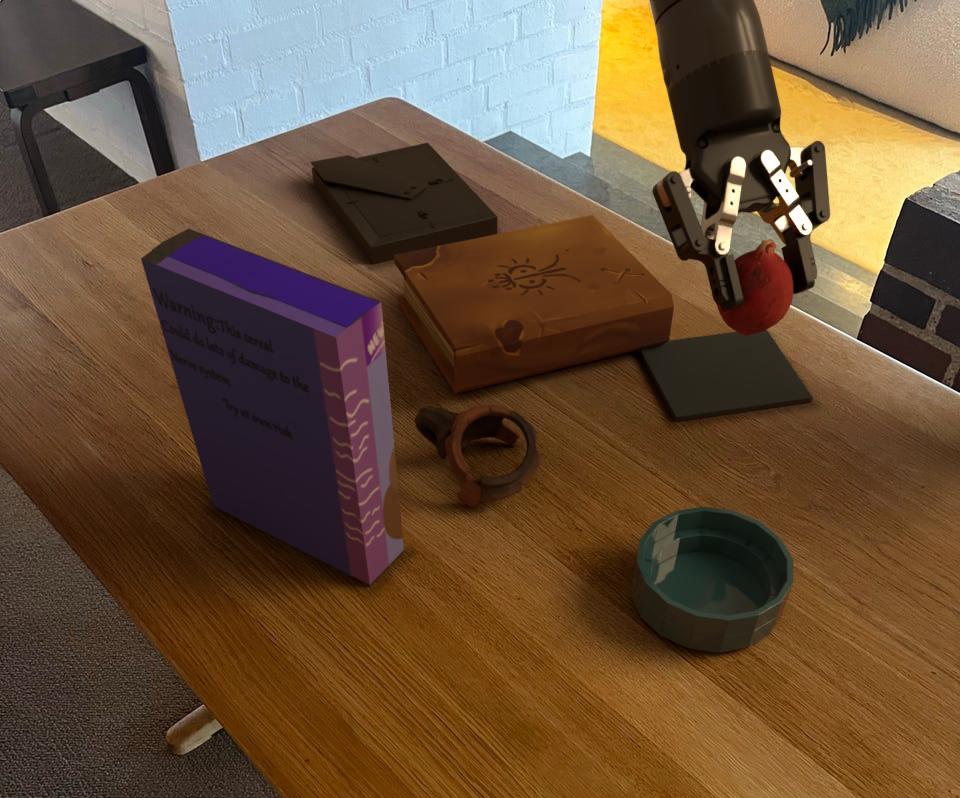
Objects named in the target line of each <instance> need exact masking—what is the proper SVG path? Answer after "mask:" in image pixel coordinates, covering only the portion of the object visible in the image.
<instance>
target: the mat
mask: <svg viewBox="0 0 960 798" xmlns="http://www.w3.org/2000/svg"><path fill="white" fill-rule="evenodd" d="M637 351H638V355H639V357H640V358H641V360H642V362H643V363H644V365H645V367H646V370H647V371H648V373H649V375H650V377H651V379H652V382H654V385H655V386H656V388H657V390H658V392H659V394H660V396H661V398H662V400H663V402H664V403H665V405H666V408H667V409H668V411H669V413H670V415H671V417H672V418H673V420H674V422H682V421H689V420H695V419H704V418H709V417H710V418H711V417H717V416H724V415H730V414H738V413H743V412H750V411H751V412H752V411H758V410H765V409H772V408H780V407H787V406H793V405H800V404H807V403H812V401H813V399H814V398H813V395H812V394H811V393H810V391H809V390H808V388H807V387H806V385H805V383H803V381H802V379H801V378H800V377H799V374H798V373H797V372H796V370H795V369H794V368H793V366H792V365H791V363H790V362H789V360H788V359H787V357H786V355H785V354H784V352H783V351H782V350H781V348H780V347H779V345H778V343H776V341H775V340H774V338H773V337H772V334H770V332H769V331H768V329H767V330H765V331H763V332H760V333H756V334H752V335H748V336H744V335H742V334H740V333H738V332H736V331H731V332H724V333H715V334H708V335H701V336H694V337H686V338H678V339H673V340H672V339H669V341H667V342H666V343H665V344H661V345H657V346H653V347H649V348H645V349H640V350H637Z"/></svg>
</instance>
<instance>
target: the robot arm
mask: <svg viewBox="0 0 960 798" xmlns="http://www.w3.org/2000/svg"><path fill="white" fill-rule="evenodd" d="M648 2H649V6H650V11H651V14H652V19H653V22H654V27H655V32H656V39H657V47H658V49H657V50H658V56H659V64H660V68H661V72H662V76H663V77H662V78H663V82H664V85H665V89H666V93H667V97H668V102H669V105H670V109H671V114H672V118H673V123H674V126H675V131H676V134H677V139H678V143H679V148H680V151H681V152H682V154H684V156H685V166H684V170H682V171H679V172H678V171H675V170H672V171H669V172H668V173H667V174H666V175H665V176H664V177H662V178H661V179H660V180H659V181H658V182H657V183H656V184H654V185H653V187H652V195H653V198H654V201H655V203H656V205H657V208H658V211H659V213H660V215H661V218H662V221H663V223H664V225H665V228H666V230H667V233H668V235H669V238H670V240H671V243H672V246H673V248H674V250H675V253H676V255H677V258H678V259H679V260H680V261H683V262H687V261H688V260H693V261H699V262H701V263H702V264H703V265H704V268H705V271H706V275H707V278H708V283H709V286H710V291H711V295H712V299H713V302H714V303H715V304H716V306H717V305H720V307H721V309H722V311H723V312H726V311H730V310H733V309H735V308H737V307H739V306H741V305H742V304H743V295H742V290H741V286H740V282H739V278H738V273H737V269H736V265H735V256H734V254H729V251H730V248H731V243H732V242H731V241H732V233H733V226H734V225H735V223H736V222H737V219H738V215H740V213H746V214H747V213H748V214H751V213H757V214H758V215H759V217H760V218H761V219H762V221H763V222H764V223H765V224H769V225H770V226H771V227H772V229H773V230H774V232H775V233H776V234H777V236H778V238H779V239H780V241H781V242H782V243H783V244H784V246H782V247H781V248H780V250H781V254H782V259H783V260H784V261H785V262H786V264H787V265H788V267H789V268H790V270H791V273H792V276H793V283H794V293H793V295H797V294H801V293H804V292H806V291H809V290H810V289H813V288H814V287H815V283H816V281H815V280H816V279H817V278H818V267H817V264H816V259H815V253H814V250H813V245H812V240H811V235H812V233H813V232H814V230H815V229H817V228H818V227H820V226H821V225H822V224H824V223H826V222H828V221H829V220H830V218H831V206H830V193H829V181H828V168H827V167H828V166H827V155H826V146H825V144H824V142H822V141H820V140H815V141H813V142H812V143H810V144H808V145H807V146H790V143H789V142H788V140H787V139H786V137H784V135H783V133H782V129H781V118H782V108H781V103H780V99H779V95H778V89H777V86H776V80H775V76H774V72H773V67H772V63H771V58H770V54H769V50H768V45H767V41H766V36H765V33H764V27H763V23H762V19H761V15H760V12H759V10H758V6H757V5H756V3H755V0H648ZM788 169H789V170H790V171H789V177H790V178H792V179H793V178H794V186H793V184H792V183H791V181H790V180H789V179H788V177H787V176H786V173H787V171H788ZM794 187H795V188H794ZM692 191H693V192H694V193H695V194H696V195H697V196H698V197H699V198H700V199H701V200H703V207H702V215H701V222H700V221H699V218H698V216H697V213H696V211H695V208H694V206H693V203H692V200H691V197H692ZM776 199H778V203H776V202H774V201H775V200H776Z"/></svg>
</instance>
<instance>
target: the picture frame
mask: <svg viewBox="0 0 960 798" xmlns="http://www.w3.org/2000/svg"><path fill="white" fill-rule="evenodd" d="M310 164H311V166H312V167H311V173H312V175H311V176H312V180H313V185H314V187H315V188H316V189H317V190H318V192H319V194H321V196H322V198H323V199H324V200H325V201H326V203H327V204H328V205H329V207H330V208H331V210H332V211H333V212H334V213H335V215H336V217H337V218H338V219H339V221H340V222H341V224H342V225H343V226H344V227H345V228H346V230H347V231H348V233H349V234H350V235H351V237H352V238H353V240H355V242H356V244H357V245H358V247H360V249H361V250H362V251H363V253H364V254H365V255H366V257H367V258H368V260H369V261H370V263H371V264H372V265H375V264H379V263H384V262H387V261H391V260H394V255H396V254H401V253H406V252H411V251H416V250H421V249H426V248H431V247H436V246H441V245H446V244H451V243H456V242H461V241H466V240H471V239H476V238H481V237H485V236H490V235H495V234H498V215H496V214H495V212H494V211H493V210H492V209H491V208H490V207H489V206H488V205H487V203H485V201H484V200H482V198H481V197H480V196H479V195H478V194H477V193H476V192H475V191H474V190H473V189H472V188H471V187H470V186H469V185H468V184H467V182H466V181H465V180H464V179H463V178H462V177H461V176H460V175H459V173H457V172H456V171H455V169H453V167H452V166H450V164H449V163H448V162H447V161H446V160H445V159H444V158H443V157H442V156H441V155H440V153H439V152H438V151H437V150H436V149H434V147H433V146H432V145H431V144H430V143H429V142H423V143H420V144H415V145H410V146H406V147H405V146H404V147H401V148H397V149H391V150H387V151H383V152H378V153H374V154H373V153H372V154H368V155H364V156H359V157H354V156H352V155H350V154H346V155H340V156H335V157H329V158H324V159H318V160H314V161H313V160H312V161H310Z"/></svg>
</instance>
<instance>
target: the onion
mask: <svg viewBox="0 0 960 798" xmlns="http://www.w3.org/2000/svg"><path fill="white" fill-rule="evenodd" d="M776 248H777V244H776V242H774V240H773V239H771V238H768V239H763V240H761V243H760V244H759V245H758V246H757V247H756V248H755V249H753V250H751V251H748V252H744V253H743V254H741V255H739V256H737V257H736V258H734V260H735V265H736V269H737V273H738V278H739V282H740V286H741V290H742V295H743V304H742V305H741V306H739V307H737V308H735V309H733V310H730V311H726V312H723V311H722V309H721V307H720V305H716V307H717V310H718V313H719V315H720V317H721V319H722V320H723V322H724V323H725V324H726V326H727V327H729V328H730V329H731V330H733V331H734V332H738V333H740V334H742V335H744V336H748V335H752V334H756V333H760V332H763V331H765V330H767V331H768V329H770V328H772V327H774V326H776V325H777V324H778V323H780V322H781V321H782V320H783V319H784V317H785V316H786V315H787V313H788V311H789V310H790V307H791V305H792V303H793V299H794V294H793V293H794V283H793V276H792V273H791V270H790V268H789V267H788V265H787V264H786V262H785V261H784V258H783V257H781V256H780V255H779V254H777V253H776V251H775V249H776Z"/></svg>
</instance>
